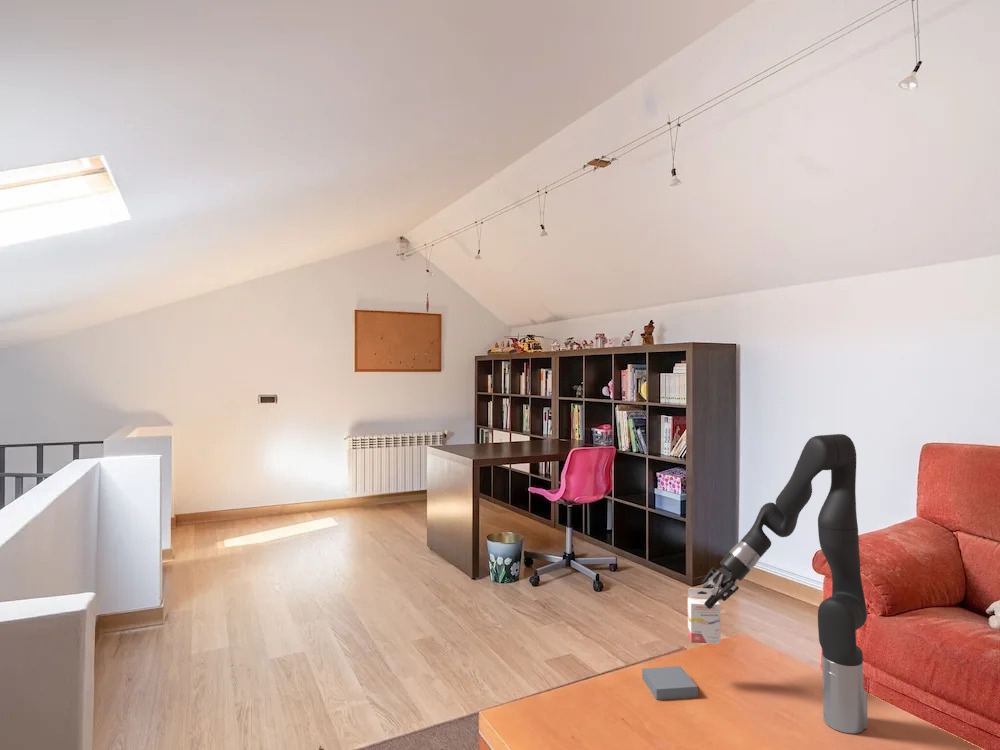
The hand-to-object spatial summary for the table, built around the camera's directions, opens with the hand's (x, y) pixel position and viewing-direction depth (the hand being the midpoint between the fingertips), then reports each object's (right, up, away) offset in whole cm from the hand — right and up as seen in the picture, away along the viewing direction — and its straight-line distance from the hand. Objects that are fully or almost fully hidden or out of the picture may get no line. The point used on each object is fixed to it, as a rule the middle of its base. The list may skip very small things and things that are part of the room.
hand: (702, 602), depth 178 cm
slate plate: (-11, -24, -2) cm, 26 cm away
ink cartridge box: (+1, -11, 0) cm, 11 cm away
